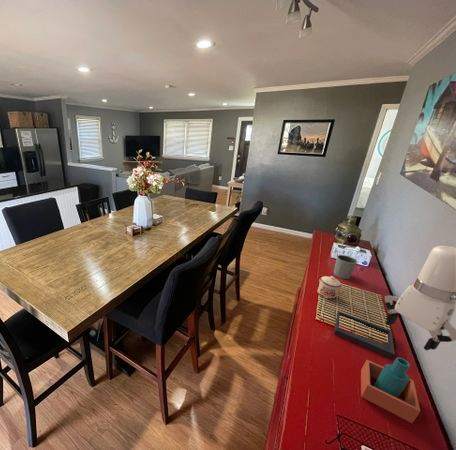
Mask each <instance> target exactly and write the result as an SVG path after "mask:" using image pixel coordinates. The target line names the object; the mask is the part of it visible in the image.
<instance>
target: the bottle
mask: <svg viewBox="0 0 456 450" xmlns="http://www.w3.org/2000/svg"><path fill="white" fill-rule="evenodd" d="M383 367H384V368H383V370H382V372H381V373H380V375H379V377H378V379H376V381H375V383H374V384H373V386H374V387H376V388H378V389H380V390H382V391H384V392H386V393H388V394H390V395H392V396H394V397H396V398H398V399H399V397H401V394H402V393H403V392H402V391H403V389H404V388H405V386H406V385H407V383H408V381H409V380H410V379H411V378H410V376H409V375H408V373H407V372H408V370H409V369H410V367H411V363H410V362H409V361H407V360H406V359H405V358H402V357H400V356H399V357H396V358H395V359H394V361H393V363H392V364H390V363H387V364H385V365H384V366H383Z"/></svg>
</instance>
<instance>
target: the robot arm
mask: <svg viewBox="0 0 456 450" xmlns="http://www.w3.org/2000/svg"><path fill="white" fill-rule="evenodd" d="M384 302H385V306H386V309H387V313H388V314H387V316H386V318H385V320H386V321H385V325H387V326H390V325H394V324H396V322H397V320H398V318H399V316H400V315H401V316H402V317H404V318H407V319H408V320H410V321H411V322H413V323H415V324H416V325H418V326H419V327H421V328H423V329H425V330H427V331H428V332H429V334H430V336H431V337H430V338H429V339H427V341H426V343H425V345H424V347H423V350H425V351H429V350H433V351H434V350H436V349H438V347H439V345H440V344H441V342H442V343H451V342H455V341H456V328H455V327H454V326H453V325H452V324H451V321H452V318H453V315H454V314H455V313H454V312H455V310H456V247H454V246H448V245H437V246H434V247H433V248H432V249H431V251H430V253H429V255H428V256H427V258H426V260H425V262H424V264H423V266H422V268H421V269H420V272H419V274H418V276H417V277H416V280H415V282H414V283H412V284H410V285H409V286H408V287H407V288H406V289H405V290H404V291H403V293H402V294H401V295H400V296H395V295H389V294H388V295H384ZM393 302H396V303H395V305H394V303H393ZM443 331H447V332H448V334H449V335H444V332H443Z"/></svg>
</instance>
